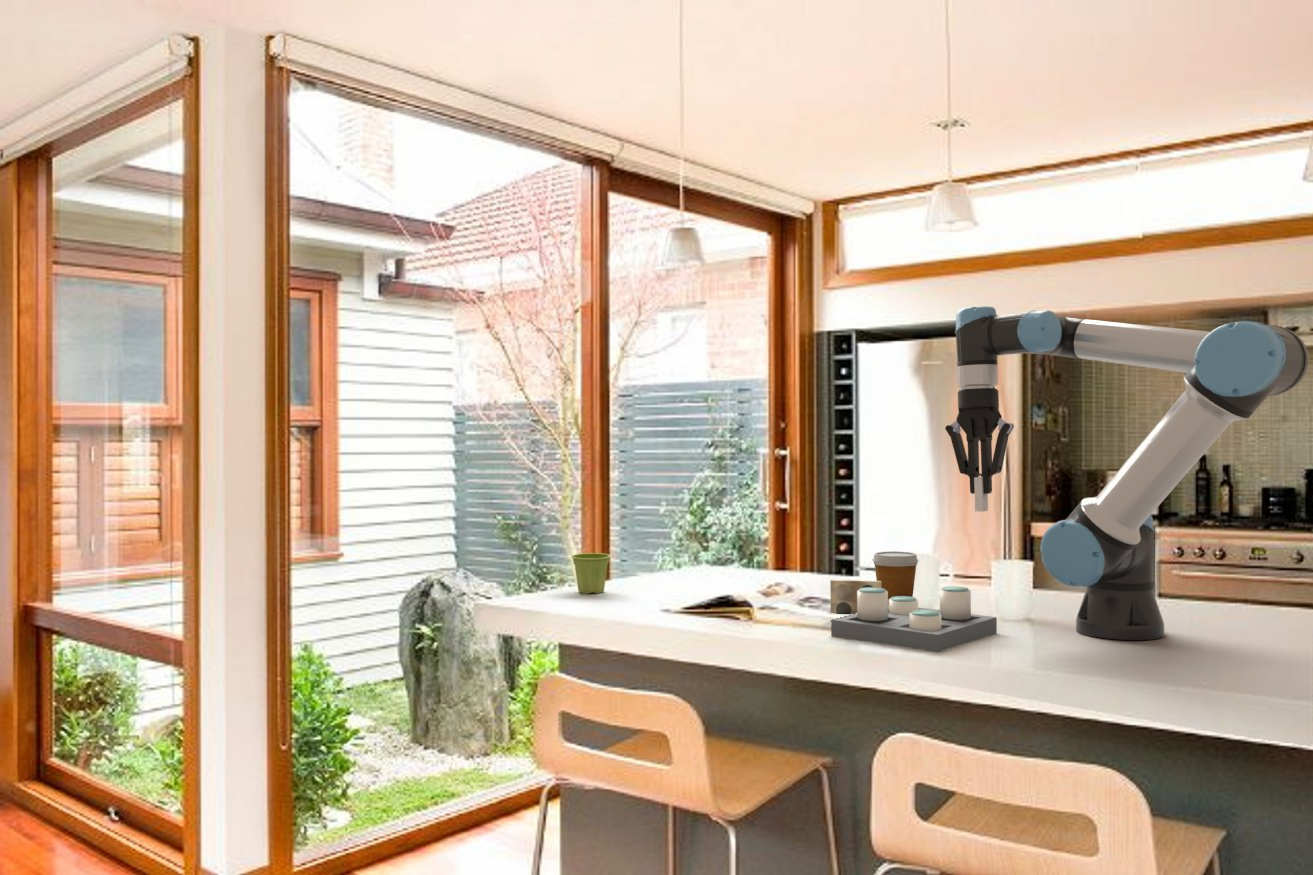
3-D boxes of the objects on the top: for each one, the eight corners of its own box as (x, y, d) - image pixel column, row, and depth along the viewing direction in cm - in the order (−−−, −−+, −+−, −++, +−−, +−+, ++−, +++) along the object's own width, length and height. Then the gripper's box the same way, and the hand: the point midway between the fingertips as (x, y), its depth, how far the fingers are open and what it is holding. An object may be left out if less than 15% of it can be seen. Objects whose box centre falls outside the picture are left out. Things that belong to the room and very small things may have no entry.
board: (996, 633, 203) (996, 617, 202) (937, 652, 187) (937, 634, 187) (893, 619, 218) (893, 604, 218) (831, 635, 202) (831, 619, 202)
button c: (947, 641, 194) (947, 611, 194) (931, 646, 190) (931, 616, 190) (919, 637, 198) (919, 608, 198) (903, 642, 194) (903, 612, 194)
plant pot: (618, 590, 259) (618, 554, 259) (596, 596, 251) (595, 558, 251) (587, 587, 264) (586, 552, 264) (563, 593, 256) (563, 556, 256)
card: (881, 620, 216) (881, 581, 216) (881, 622, 215) (881, 581, 215) (831, 619, 218) (830, 579, 218) (830, 620, 217) (830, 580, 217)
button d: (893, 617, 202) (893, 589, 202) (877, 621, 198) (877, 592, 198) (867, 614, 206) (867, 586, 206) (851, 618, 202) (851, 589, 202)
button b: (923, 625, 210) (923, 597, 210) (908, 629, 206) (908, 601, 206) (898, 621, 214) (898, 594, 214) (883, 625, 210) (883, 598, 210)
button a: (976, 616, 202) (976, 587, 202) (961, 620, 198) (961, 591, 198) (949, 613, 206) (948, 585, 206) (934, 617, 202) (934, 588, 202)
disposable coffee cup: (919, 615, 222) (919, 556, 222) (872, 614, 224) (872, 556, 224) (918, 607, 231) (917, 551, 231) (872, 606, 233) (872, 550, 233)
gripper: (1018, 386, 207) (1022, 510, 206) (953, 390, 215) (957, 509, 215) (1003, 385, 201) (1007, 512, 201) (937, 389, 209) (941, 511, 209)
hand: (981, 510), depth 208 cm, fingers closed
